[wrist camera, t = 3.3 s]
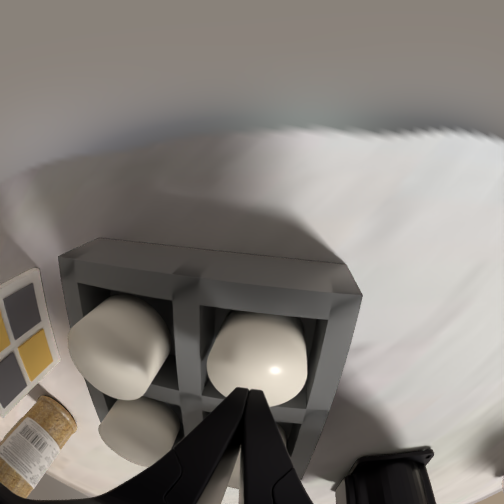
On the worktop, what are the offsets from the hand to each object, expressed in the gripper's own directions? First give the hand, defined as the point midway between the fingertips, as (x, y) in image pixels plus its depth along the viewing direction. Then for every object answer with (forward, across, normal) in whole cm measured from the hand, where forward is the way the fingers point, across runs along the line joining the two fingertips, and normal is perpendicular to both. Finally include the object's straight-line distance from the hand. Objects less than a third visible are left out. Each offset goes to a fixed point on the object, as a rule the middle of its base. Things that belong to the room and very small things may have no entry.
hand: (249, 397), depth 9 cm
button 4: (+3, +5, 0) cm, 6 cm away
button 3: (+2, +5, +6) cm, 8 cm away
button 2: (+4, 0, 0) cm, 4 cm away
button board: (+5, +3, +3) cm, 6 cm away
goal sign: (+5, +14, +3) cm, 15 cm away
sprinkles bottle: (+5, +17, +14) cm, 23 cm away
